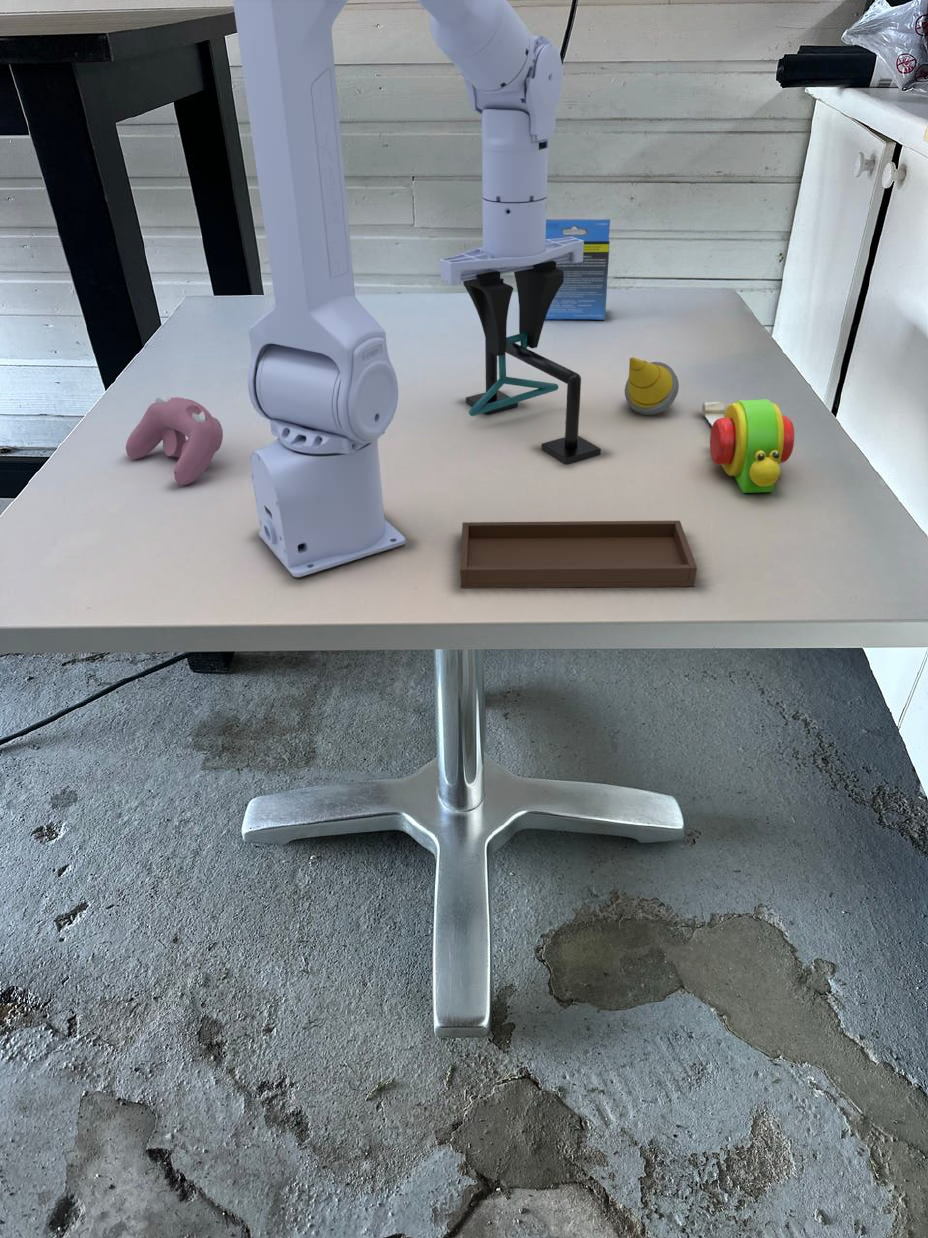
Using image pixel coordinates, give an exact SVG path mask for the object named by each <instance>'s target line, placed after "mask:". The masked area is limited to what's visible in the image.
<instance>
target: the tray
mask: <svg viewBox="0 0 928 1238" xmlns="http://www.w3.org/2000/svg"><path fill="white" fill-rule="evenodd" d="M461 525H462V527H461V542H460V543H461V545H460V546H461V547H460V564H459V567H460V568H459V577H460V581H459V582H460V589H474V588H475V589H487V588H488V589H489V588H490V589H491V588H492V589H494V588H495V589H497V588H498V589H499V588H501V589H502V588H506V589H507V588H508V589H509V588H511V589H512V588H513V589H514V588H636V587H637V588H639V587H640V588H643V587H644V588H646V587H649V588H651V587H653V588H655V587H658V588H659V587H663V588H665V587H671V588H672V587H695V584H696V582H695V581H696V577H697V572H698V571H697V570H698V568H697V564H696V562H695V559H694V556H693V554H692V550H691V548H690V545H689V542H688V540H687V539H688V538H687V537H686V533H685V531H684V528H683V526H682V523H681V520H596V521H595V520H587V521H585V520H584V521H583V520H582V521H581V520H580V521H578V520H577V521H576V520H575V521H574V520H573V521H570V520H569V521H473V522H472V521H471V522H467V521H465V522H462V524H461Z"/></svg>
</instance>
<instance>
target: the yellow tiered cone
mask: <svg viewBox="0 0 928 1238" xmlns="http://www.w3.org/2000/svg"><path fill="white" fill-rule="evenodd" d="M628 365H629V367H628V377H627V380H626V382H625V386H624V397H625V400H626V403H627V404H628V405H629V407H630V408H631V409H632V410H633V411H634V412H636V413H637V414H640V415H642V416H653V415H657V414H660V413H662V412H664V411H665V410H666V409H668V408H669V407H670V406H671V405H673V403H674V402H675V400H676V398H677V396H678V393H679V387H680V383H679V378H678V376H677V374H676V373H675V371H674V370H673V369H672V367H671V366H670V365H668V364H666V363H664V362H660V361H651V362H649V361H646V360H643V359H639V358H636V357H629V364H628Z"/></svg>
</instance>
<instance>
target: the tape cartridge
mask: <svg viewBox="0 0 928 1238" xmlns="http://www.w3.org/2000/svg"><path fill="white" fill-rule="evenodd" d="M610 226H611V219H609V218H606V219H605V218H604V219H603V218H602V219H590V218H589V219H578V218H575V219H574V218H573V219H566V218H565V219H564V218H563V219H562V218H561V219H547V218H546V239H558V238H566V237H574V238H577V239H581V240H583V241H584V248H583V261H582V262H578V263H572V262H565V263H560V264H556V269H559V270H562V271H563V272H564V282H563V284H562V285H561V287H560V288H559V290H558V292H557V293H556V295H555V297H554V299H553V301H552V303H551V305H550V307H549V310H548V312H547V315H546V318H545V320H594V321H595V320H596V321H597V320H598V321H603V320H605V318H606V311H607V309H606V308H607V298H608V297H607V295H608V275H609V261H610ZM574 227H575V228H576V229H577V230H584V232H585V233H583V234H581V233H578V234H575V233H573V234H572V233H570V234H564V233H563V232H564V231H565V230H566V231H567V230H572V229H573V228H574Z"/></svg>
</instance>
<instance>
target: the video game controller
mask: <svg viewBox="0 0 928 1238" xmlns="http://www.w3.org/2000/svg"><path fill="white" fill-rule="evenodd" d="M223 438H224V430H223V427H222V424H221V422H220V420H218V418H216V417H214V416H212V414H211V413H210V412H209V410H208V409H206V408H205V406H203V405H202V404H201V403H199V402H197V401H196V400H192V399H189V398H184V397H179V396H178V397H177V396H175V397H173V396H172V397H171V396H169V397H168V396H167V397H164V398H161V397H156V398H155V401H154V402H153V403H151V404H150V405H149V406H148V407H147V409H146V411H145V412H144V414H143V416H142V418H141V419H140V421H139V423H137V425H136V426H135V428H134V429H133V430H132V431H131V433H130V435H129V436H128V437H127V441H126V443H125V453H126V455H127V457H129V458H130V459H132V460H139V459H142V458H144V457H146V456H147V455H148V454H150V453H151V452H152V451H153V450H154V449H155V448H156V447H157V446H158V445H159V444H161V442H162V449H163V453H164V454H165V456H168V457H172V458H178V460H177V462H176V463H175V467H174V471H173V476H174V480H175V482H176V483H177V484H178V485H180V486H187V485H189V484H191V483H194V481H197V479H199V478H200V477H201V476H202V475H203V474H204V473H205V472H206V470H207V469H208V467H209V466H210V464H211V462H212V460H213V458H214V456H215V454H216V453H217V452H218V451H219V450H220V448H221V446H222V443H223Z"/></svg>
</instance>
